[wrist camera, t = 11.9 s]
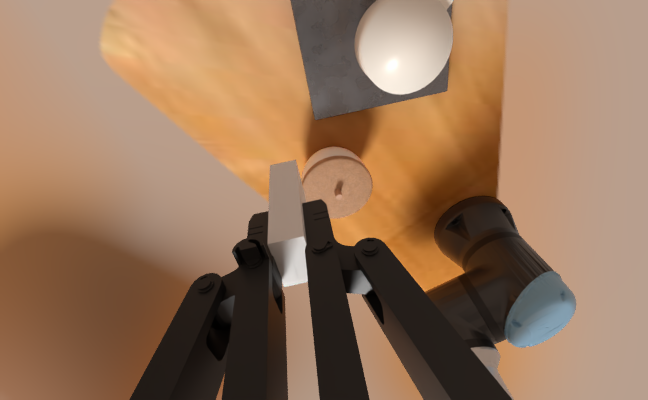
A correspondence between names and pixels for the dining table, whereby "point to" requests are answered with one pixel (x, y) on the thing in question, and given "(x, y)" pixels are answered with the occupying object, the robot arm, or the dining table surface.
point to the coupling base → (342, 59)
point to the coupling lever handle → (404, 43)
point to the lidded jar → (337, 181)
